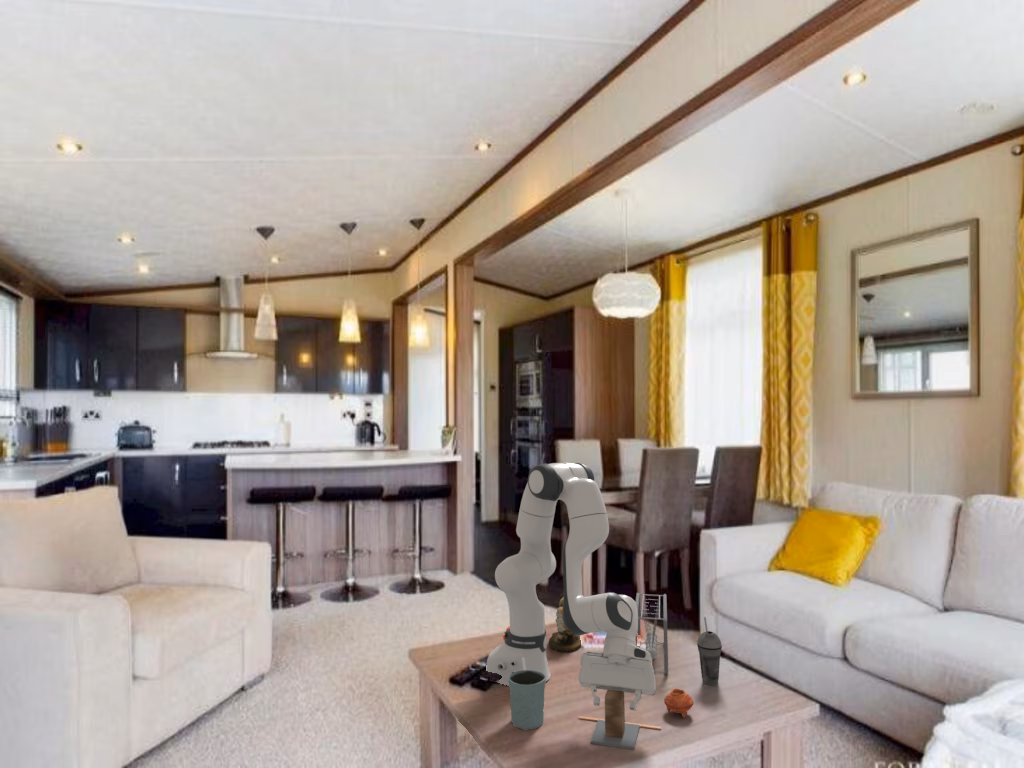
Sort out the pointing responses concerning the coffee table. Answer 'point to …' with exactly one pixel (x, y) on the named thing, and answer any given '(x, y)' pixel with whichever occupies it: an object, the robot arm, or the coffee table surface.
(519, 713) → the teal tumbler
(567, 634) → the brown lumpy statue
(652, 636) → the newton's cradle
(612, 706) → the wooden square post
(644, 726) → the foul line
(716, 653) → the beverage cup
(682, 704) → the pot
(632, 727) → the mat
